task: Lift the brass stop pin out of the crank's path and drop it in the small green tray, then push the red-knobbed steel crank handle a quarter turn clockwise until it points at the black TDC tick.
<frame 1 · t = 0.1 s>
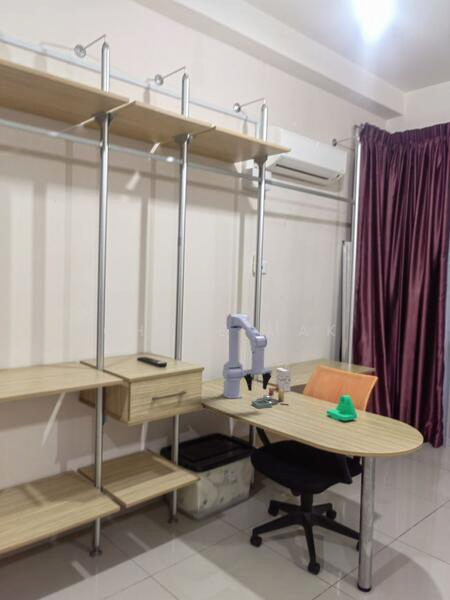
hand: (257, 389, 228), 10 cm above the table, tool pointing down, fingers open, 7 cm apart
tray: (261, 405, 237), on the table
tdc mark: (284, 404, 240), on the table
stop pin: (280, 401, 247), on the table
camera mount: (340, 418, 220), on the table
dark gray disc: (267, 402, 244), on the table
crank: (269, 394, 246), point 3 cm above the table, hinge at 0.0°
ink cartridge box: (282, 390, 271), on the table
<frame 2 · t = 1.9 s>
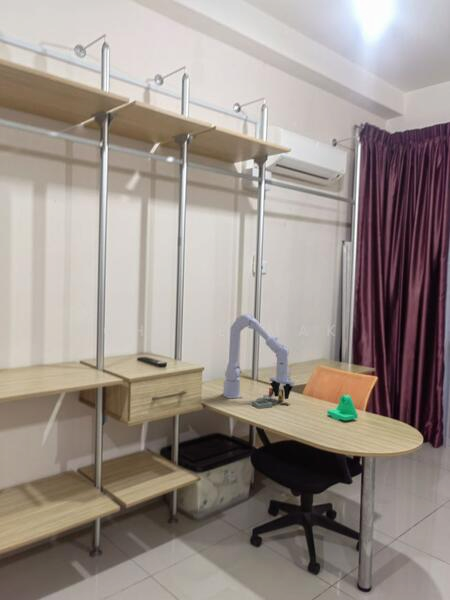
hand: (281, 397, 246), 2 cm above the table, tool pointing down, fingers open, 6 cm apart
crank: (269, 394, 246), point 3 cm above the table, hinge at 0.0°, touching gripper
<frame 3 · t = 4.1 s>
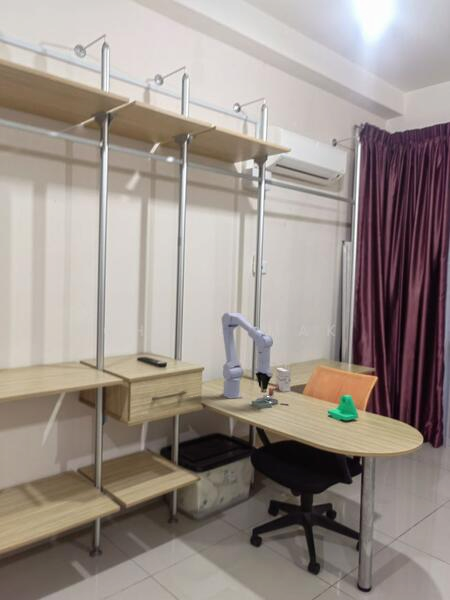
hand: (263, 388, 237), 9 cm above the table, tool pointing down, fingers closed on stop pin, 3 cm apart
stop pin: (263, 392, 237), point 7 cm above the table, touching gripper
crank: (269, 394, 246), point 3 cm above the table, hinge at 0.1°
when the fingers open (3 cm above the table, at t = 5.5 s): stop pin stays where it is, resting on tray.
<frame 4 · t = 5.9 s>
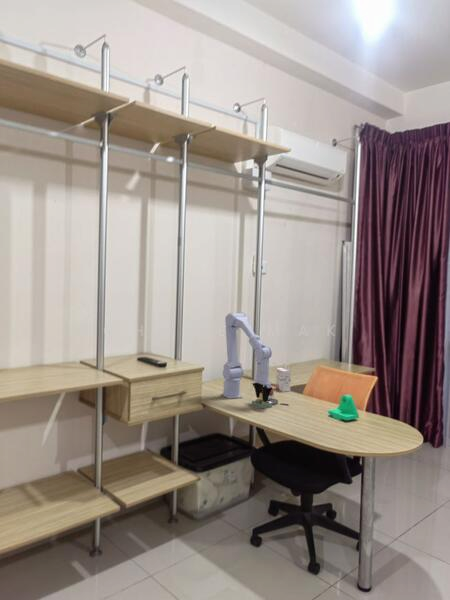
hand: (261, 399, 237), 3 cm above the table, tool pointing down, fingers open, 6 cm apart
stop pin: (262, 405, 237), resting on tray
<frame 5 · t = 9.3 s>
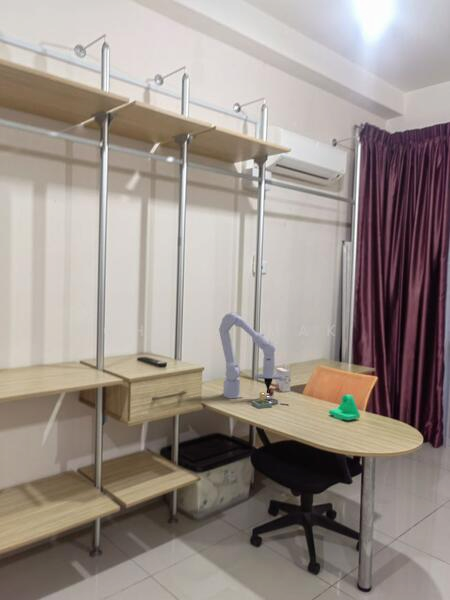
hand: (267, 392, 250), 3 cm above the table, tool pointing down, fingers closed, pressing on crank
crank: (269, 394, 246), point 3 cm above the table, hinge at -0.5°, touching gripper
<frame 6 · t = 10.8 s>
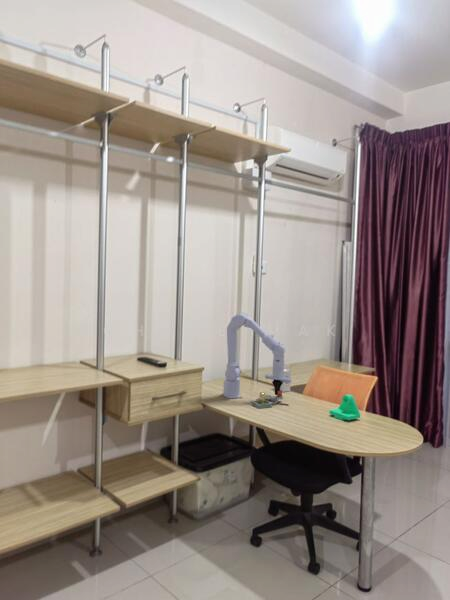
hand: (277, 394, 247), 3 cm above the table, tool pointing down, fingers closed, pressing on crank
crank: (273, 395, 244), point 3 cm above the table, hinge at -47.5°, touching gripper
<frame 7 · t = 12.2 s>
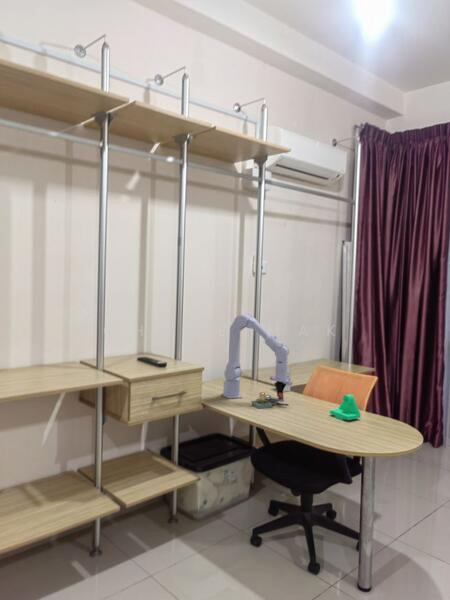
hand: (280, 396, 243), 3 cm above the table, tool pointing down, fingers closed, pressing on crank
crank: (273, 396, 242), point 3 cm above the table, hinge at -84.8°, touching gripper
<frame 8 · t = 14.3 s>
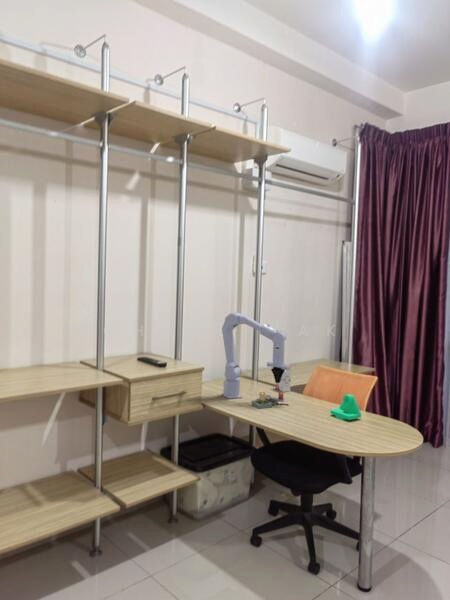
hand: (277, 382, 245), 10 cm above the table, tool pointing down, fingers closed
crank: (273, 396, 242), point 3 cm above the table, hinge at -85.7°
at the end: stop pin 0.2 cm off-centre on the tray, point 0.4 cm above the tray's base; crank at -86° (first picture: +0°) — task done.
